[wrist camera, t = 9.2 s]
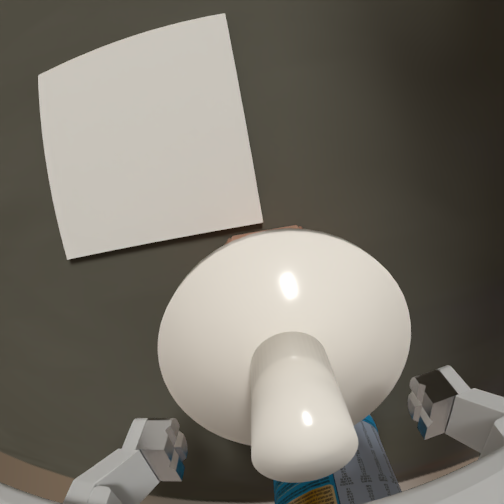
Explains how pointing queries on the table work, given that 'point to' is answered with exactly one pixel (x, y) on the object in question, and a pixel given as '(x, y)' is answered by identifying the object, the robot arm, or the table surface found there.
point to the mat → (148, 140)
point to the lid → (285, 347)
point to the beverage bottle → (348, 476)
